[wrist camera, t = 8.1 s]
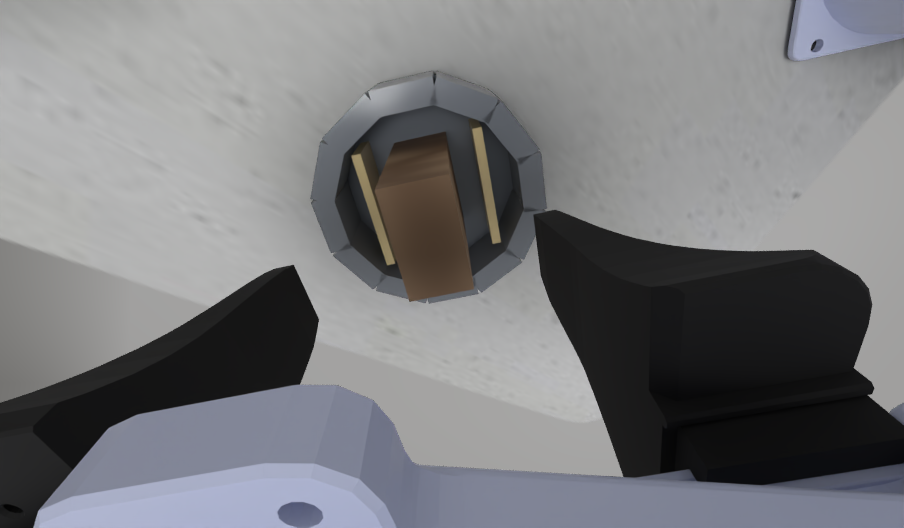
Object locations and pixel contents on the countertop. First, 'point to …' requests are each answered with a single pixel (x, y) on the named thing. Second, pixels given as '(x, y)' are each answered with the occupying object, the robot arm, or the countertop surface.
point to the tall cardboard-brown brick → (425, 217)
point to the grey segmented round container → (474, 163)
